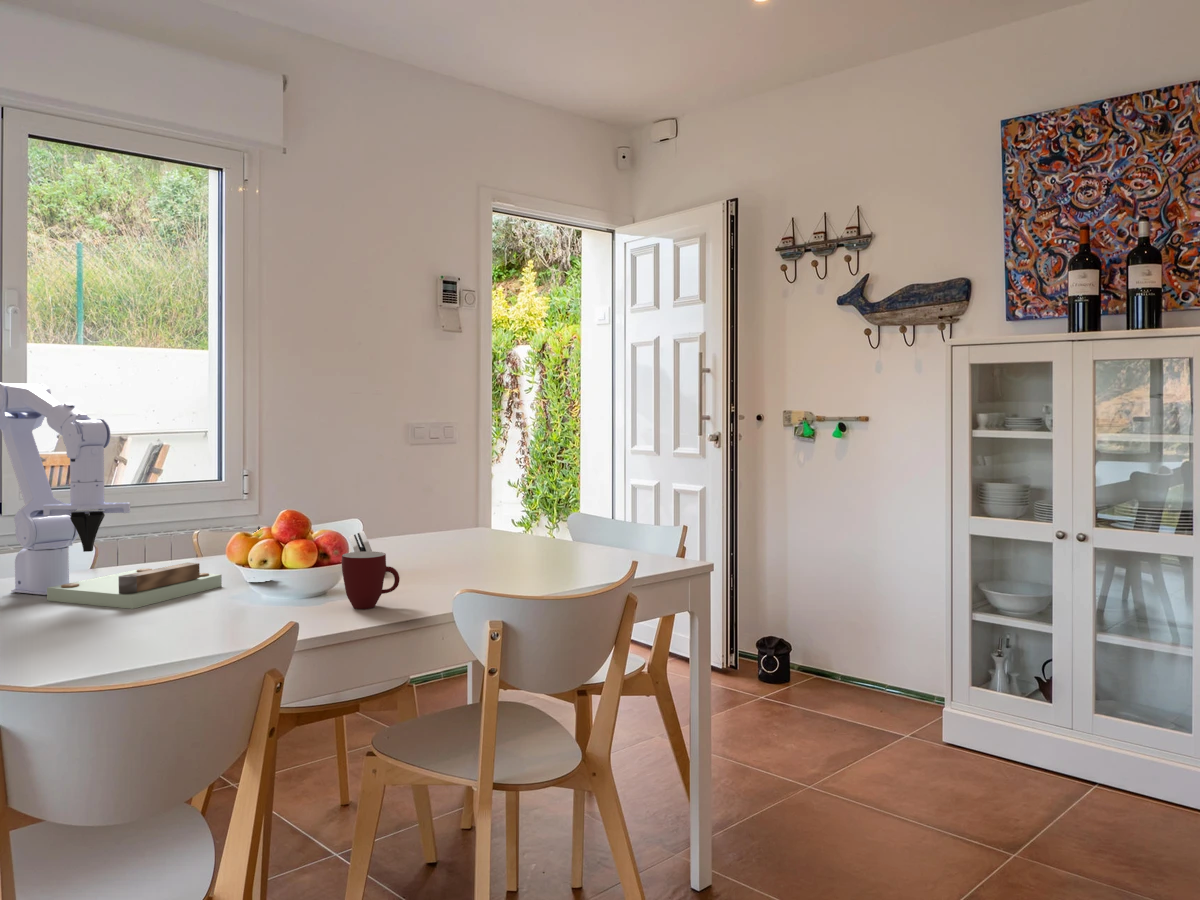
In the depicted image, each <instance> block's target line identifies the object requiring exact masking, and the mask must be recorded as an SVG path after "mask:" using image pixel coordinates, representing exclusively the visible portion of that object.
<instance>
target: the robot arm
mask: <svg viewBox="0 0 1200 900" xmlns="http://www.w3.org/2000/svg"><path fill="white" fill-rule="evenodd" d="M45 418H46V423H47V425H48V427H50V428H51V429H52V430H54V431H55V432H56V433H58V434H59V435H60V436H62V440H63V444H64V447H65V451H66V456H67V458H68V459H69V482H70V483H69V486H70V498H69V499H70V503H66V502H63V501H62V500H60V499H57V498H56V497H55V496H54V494H53V490H52V488H51V485H50V481H49V479H48V476H47V472H46V469H45V467H44V464H43V460H42V458H41V455H40V452H39V449H38V446H37V443H36V440H35V436H34V434H33V431H34V430H36V429H37V428H39V427H42V424H43V421H44V420H45ZM110 429H111V428H110V426H109V424H108V422H106V420H105V419H103V418H96V419H92V418H90V417H89V416H88V414H87V413H84V412H83V411H81V410H79V409H78V408H76V405H75V404H74V403H73V402H64V403H60V402H59V401H58V400H56V398H54V397H53V396H52V390H51V388H50V387H49V386H47V385H46V384H44V383H13V382H10V383H9V382H1V381H0V431H1V434H2V437H3V440H4V445H5V447H6V451H7V452H8V455H9V459H10V462H11V466H12V468H13V471H14V475H15V477H16V481H17V483H18V487H19V490H20V492H21V496H22V498H23V503H24V505H22V507H21V508H19V509H18V511H17V512H16V513H15V515H14V517H13V521H14V525H15V531H14V532H15V537H16V540H17V542H18V544H19V545H21V547H22V549H20V550H19V552H18V553H16V556H15V559H14V588H12V589H10V591H11V592H12V593H20V594H21V593H22V594H31V595H32V594H33V595H39V596H41V595H42V596H43V595H44V596H47V588H48V587H53V586H58V585H63V584H68V583H70V559H69V558H70V553H69V552H70V549H69V548H70V547H72V546H73V542H75V541H76V540H77V538H78V536H79V538H80V539H79V540H80V541H81V546H82V552H84V553H85V552H92V551H94V546H95V541H96V537H97V534H98V531H99V529H100V526H101V524H102V522H103V520H104V518H105V514H120V513H121V514H122V513H123V514H130V513H131V502H127V501H126V502H106V501H105V454H104V453H105V448H107V447H108V446H109V443H110V440H111V430H110Z"/></svg>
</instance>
